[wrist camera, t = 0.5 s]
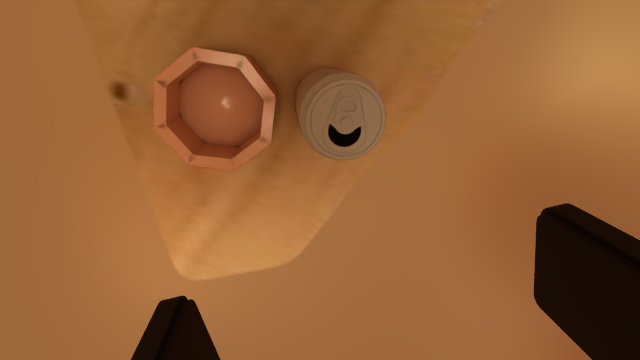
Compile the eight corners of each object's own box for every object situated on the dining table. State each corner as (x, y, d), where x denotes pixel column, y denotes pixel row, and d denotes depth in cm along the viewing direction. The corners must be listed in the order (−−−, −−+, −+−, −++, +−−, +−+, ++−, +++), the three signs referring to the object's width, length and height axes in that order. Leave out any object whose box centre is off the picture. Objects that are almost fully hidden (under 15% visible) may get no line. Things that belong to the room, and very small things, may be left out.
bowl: (172, 42, 31) (153, 40, 27) (280, 60, 33) (280, 61, 28) (171, 146, 34) (153, 160, 30) (269, 158, 36) (267, 173, 31)
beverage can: (292, 128, 35) (297, 163, 24) (296, 64, 33) (304, 69, 22) (352, 132, 36) (383, 168, 25) (359, 70, 34) (398, 78, 23)
